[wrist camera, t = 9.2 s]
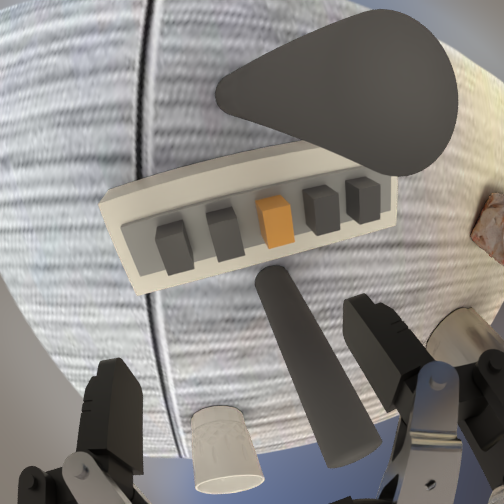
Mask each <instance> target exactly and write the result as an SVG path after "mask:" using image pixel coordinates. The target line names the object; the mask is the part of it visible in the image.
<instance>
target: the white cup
mask: <svg viewBox="0 0 504 504" xmlns="http://www.w3.org/2000/svg"><path fill="white" fill-rule="evenodd" d="M191 430H192V458H193V469H194V479H195V488H196V490H197V491H200V492H203V493H208V494H227V493H235V492H240V491H244V490H248V489H251V488H253V487H256V486H258V485H260V484H261V483H262V482H264V480H265V479H264V476H263V473H262V470H261V467H260V464H259V461H258V458H257V455H256V451H255V448H254V446H253V443H252V440H251V437H250V434H249V432H248V430H247V428H246V425H245V421H244V418H243V414H242V412H241V411H239V410H238V409H237V408H234V407H229V406H212V407H208V408H204V409H201V410H200V411H198V412H196V413H195V414H194V415H193V417H192V418H191Z"/></svg>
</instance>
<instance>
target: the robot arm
mask: <svg viewBox="0 0 504 504" xmlns="http://www.w3.org/2000/svg"><path fill="white" fill-rule="evenodd" d="M343 336H344V339H345V342H346V344H347V346H348V348H349V349H350V351H351V353H352V354H353V356H354V358H355V359H356V361H357V363H358V364H359V366H360V368H361V369H362V371H363V373H364V374H365V376H366V378H367V380H368V381H369V383H370V385H371V386H372V388H373V390H374V391H375V393H376V395H377V397H378V398H379V400H380V402H381V403H382V405H383V407H384V409H385V410H386V412H387V413H388V412H390V411H392V410H395V409H397V410H398V412H399V414H400V417H399V422H398V426H397V431H396V436H395V440H394V445H393V448H392V453H391V457H390V460H389V464H388V467H387V469H386V471H385V473H384V476H383V479H382V481H381V484H380V488H379V491H378V494H377V497H376V499H355V500H352V498H351V496H349V497H346V498H344V499H341V500H338V501H335V502H333V503H330V504H453V502H454V497H455V492H456V487H457V482H458V476H459V470H460V463H461V456H462V442H461V440H460V439H458V438H457V423H458V425H459V427H460V429H461V431H462V432H463V434H464V436H465V438H466V440H467V441H468V443H469V445H470V447H471V449H472V450H473V452H474V454H475V456H476V458H477V460H478V462H479V464H480V466H481V468H482V470H483V472H484V474H485V476H486V478H487V480H488V482H489V484H490V486H491V488H492V490H493V492H492V494H491V496H490V498H489V502H488V504H504V340H503V339H502V338H501V337H500V336H499V334H498V333H497V332H496V331H495V330H494V329H493V328H492V327H491V326H490V325H489V324H488V323H487V322H486V321H485V320H484V319H483V318H482V317H481V316H480V315H479V314H478V313H477V312H476V311H475V310H474V309H473V308H472V307H471V308H469V309H466V308H460V309H458V310H456V311H454V312H453V313H451V314H450V315H449V316H448V317H446V318H445V319H444V320H443V321H442V322H441V323H440V324H439V326H438V327H437V328H436V329H435V331H434V332H433V333H432V335H431V337H430V339H429V341H428V343H427V347H426V348H425V347H424V346H423V345H422V343H421V342H420V341H419V340H418V339H417V337H416V336H415V335H414V334H413V332H412V331H411V330H410V329H408V326H407V325H406V324H405V323H404V321H402V319H401V318H400V317H399V315H398V314H397V313H396V312H395V311H394V310H393V309H392V308H390V307H388V306H387V305H385V304H383V303H378V304H374V303H373V302H372V300H371V299H370V298H369V297H368V296H367V295H366V294H365V293H363V294H360V295H357V296H354V297H351V298H348V299H345V300H344V303H343ZM83 401H84V403H83V405H82V413H81V418H80V425H79V432H78V441H77V448H76V452H75V453H72V454H71V455H70V456H68V457H67V458H66V460H65V462H64V464H63V467H60V468H57V469H54V470H51V471H47V472H44V471H42V470H41V469H39V468H37V467H35V466H29V467H27V468H25V469H24V470H23V471H22V473H21V475H20V477H19V485H18V504H152V503H151V502H150V501H149V500H148V499H147V498H146V497H145V495H144V494H143V493H142V492H141V491H140V490H139V489H138V487H137V486H136V485H135V484H134V483H133V475H143V474H144V472H143V393H142V389H141V386H140V384H139V382H138V381H137V379H136V378H135V376H134V375H133V374H132V372H131V371H130V370H129V368H128V367H127V365H126V364H125V362H124V361H123V360H122V359H121V358H114V359H108V360H102V361H100V363H99V365H98V371H97V376H93V377H92V378H91V379H90V381H89V383H88V385H87V386H86V388H85V394H84V399H83ZM427 488H428V490H426V489H427Z"/></svg>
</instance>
